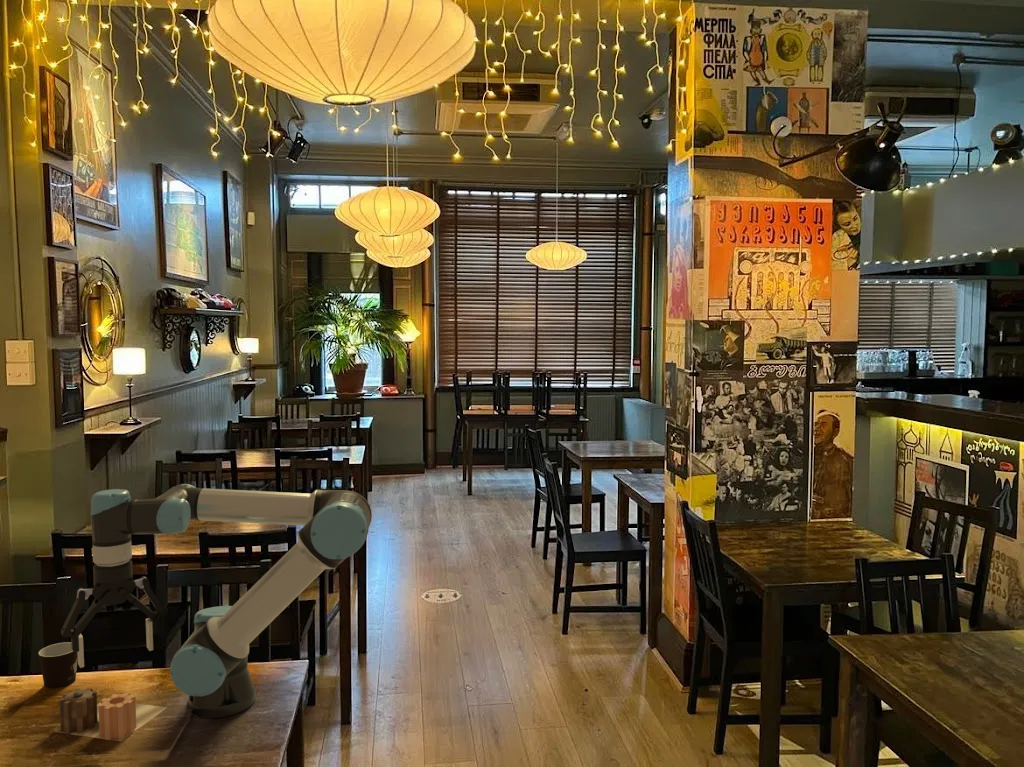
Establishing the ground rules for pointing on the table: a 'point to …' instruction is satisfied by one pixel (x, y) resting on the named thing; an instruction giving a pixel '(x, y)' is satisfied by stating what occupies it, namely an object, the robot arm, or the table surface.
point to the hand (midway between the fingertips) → (116, 656)
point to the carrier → (142, 717)
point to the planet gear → (117, 716)
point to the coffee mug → (58, 665)
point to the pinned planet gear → (78, 711)
